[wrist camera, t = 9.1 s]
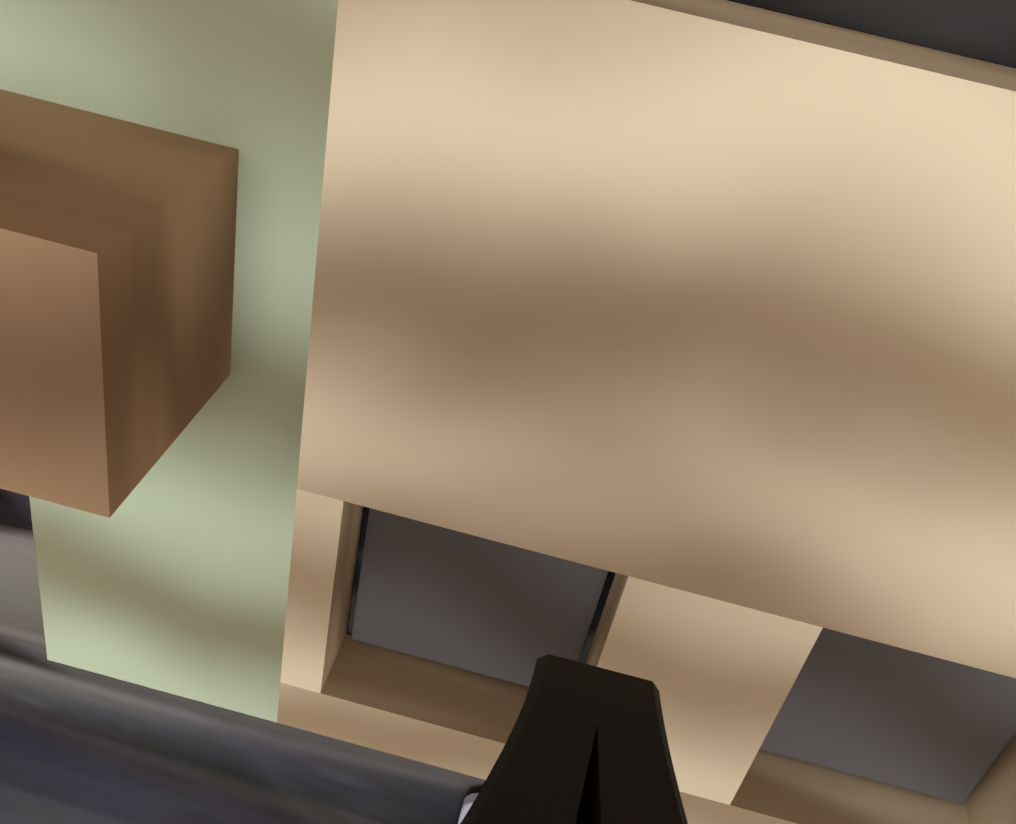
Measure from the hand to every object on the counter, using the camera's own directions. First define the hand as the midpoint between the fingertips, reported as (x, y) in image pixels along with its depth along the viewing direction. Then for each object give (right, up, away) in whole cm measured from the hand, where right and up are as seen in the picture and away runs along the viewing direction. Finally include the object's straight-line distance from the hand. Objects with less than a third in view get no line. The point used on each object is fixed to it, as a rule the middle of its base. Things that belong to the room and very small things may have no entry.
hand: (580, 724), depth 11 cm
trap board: (+4, +2, +9) cm, 10 cm away
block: (-8, +7, +6) cm, 12 cm away
